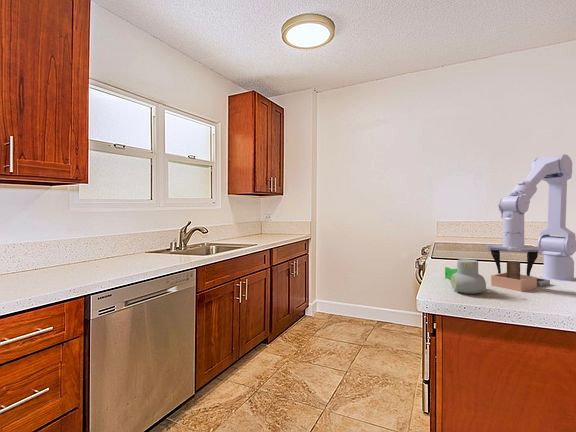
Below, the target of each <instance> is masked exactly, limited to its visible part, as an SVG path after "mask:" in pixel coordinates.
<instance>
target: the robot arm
mask: <svg viewBox="0 0 576 432" xmlns="http://www.w3.org/2000/svg"><path fill="white" fill-rule="evenodd" d="M530 169H531V170H530V172H529V173H528V175H527V176H526V178H525V179H524V180H522V181H520V180H519V181H518V183H517V184H516V186H515V187H514V188H513V189H512V190H511V192H509V194H508V195H506V196H503V197H502V198H501V199H500V200H499V203H498V205H497V206H498V210H499V212H500V217H501V219H502V244H487V245H486V246H487V247H486V249H487V252H490V253H491V256H492V258H493V260H494V262H495V265H496V268H497V274H501V273H502V272H501V252H502V253H504V252H508V253H526V275H527V276H531V271H532V267H534V263H535V262H536V260H537V258H538V256H539V254H540V255H543V275H540V276H539V278H541V279H547V280H551V281H552V280H553V281H559V282H568V281H572V280H576V277H575V261H574V259H573V257H572V256H573V255H574V254H575V253H576V233H575V232H573V230H570V229H569V228H567V227H566V225H567V223H566V222H567V219H566V217H567V194H568V193H567V192H568V181H569V180H571V179H572V176H573V175H572V174H573V160H572V159H571V156H569V155H568V154H565V153H564V154H560V155H554V156H545V157H536V158H534V159H533V160H532V162H531V163H530ZM541 181H544V182H546V183H547V184H548V197H547V198H548V199H547V203H548V204H547V226H546V227H545V228H544V229H542V230H540V232H539V236H538V239H537V243H536V246H529V245H525V213H527V212H528V211H529V208H530V203H531V199H532V198H533V197H534V195H535V194H536V192H537V191H538V187H537V185H538V184H539V183H541Z"/></svg>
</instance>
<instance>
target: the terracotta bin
mask: <svg viewBox="0 0 576 432" xmlns="http://www.w3.org/2000/svg"><path fill="white" fill-rule="evenodd" d="M537 278H538V277H537V276H533V275H530V276H527V274H521V273H520V280H517V279H512V278H507V271H506V272H501V274H498V273H496V274H492V275H491V276H490V282H491V283H490V284H491V285H490V286H491V287H497V288H501V289H507V290H511V291H515V292H516V291H517V292H520V293H521V292H526V291H529V290H534V289H536V288H538V287H537Z"/></svg>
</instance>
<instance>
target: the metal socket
mask: <svg viewBox="0 0 576 432" xmlns="http://www.w3.org/2000/svg"><path fill="white" fill-rule="evenodd" d="M550 285H551V279H546V278H540V277H537V288H542V287H546V286H550Z"/></svg>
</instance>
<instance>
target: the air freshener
mask: <svg viewBox="0 0 576 432" xmlns="http://www.w3.org/2000/svg"><path fill="white" fill-rule="evenodd" d="M456 269H457V273H454V274H453V275H452V276H451V280H450V285H451V287H452V289H453V290H454V291H456V292H457V291H458V292H457V293H460V294H466V295H467V294H468V295H475V294H477V295H478V294H479V293H480V294H481V293H482V292H484V291H485V290H487V289H486V288H487V281H486V278H484V276H483V275H481V274H480V273H479V262H478V261H477V260H476V259H467V258H466V259H465V258H461V259H457V261H456Z"/></svg>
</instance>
